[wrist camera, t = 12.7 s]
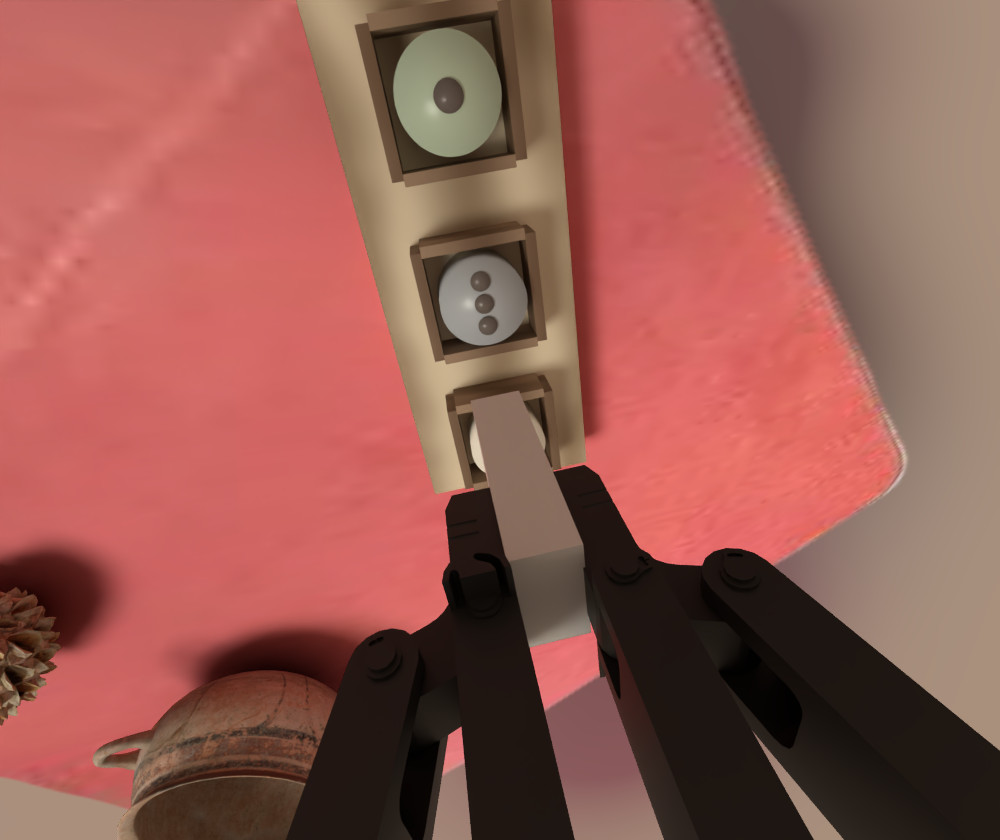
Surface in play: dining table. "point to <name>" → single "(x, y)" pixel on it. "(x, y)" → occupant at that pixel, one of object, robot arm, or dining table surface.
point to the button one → (447, 92)
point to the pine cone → (23, 649)
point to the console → (459, 215)
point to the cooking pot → (224, 759)
